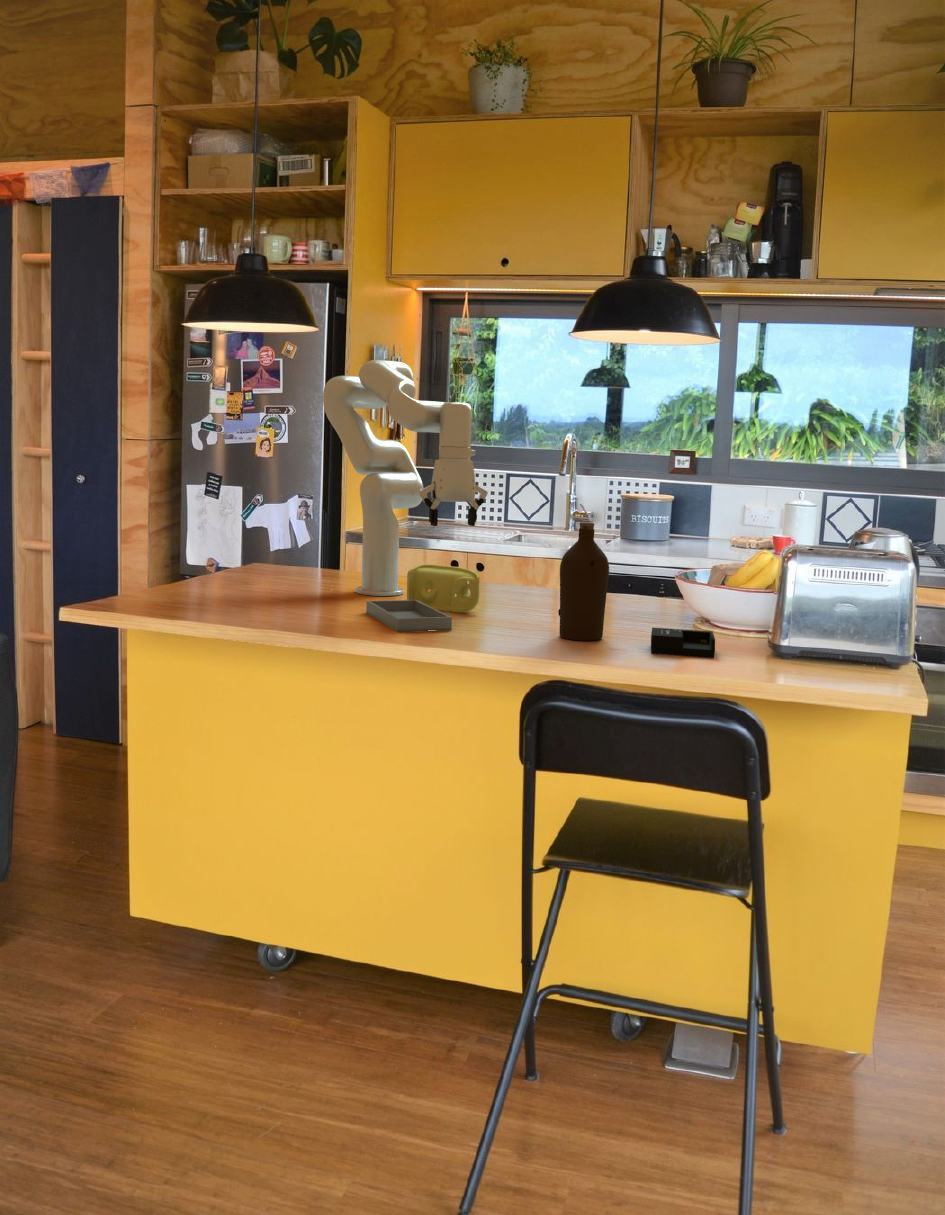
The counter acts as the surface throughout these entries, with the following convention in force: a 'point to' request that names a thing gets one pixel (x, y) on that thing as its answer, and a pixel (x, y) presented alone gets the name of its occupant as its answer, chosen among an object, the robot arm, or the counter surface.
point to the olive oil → (583, 588)
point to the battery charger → (683, 642)
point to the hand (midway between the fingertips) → (452, 525)
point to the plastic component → (443, 587)
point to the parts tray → (408, 615)
